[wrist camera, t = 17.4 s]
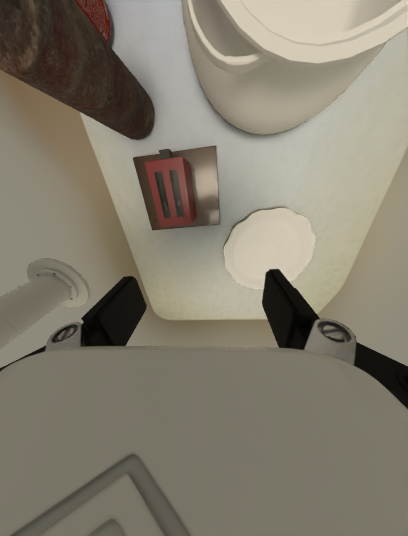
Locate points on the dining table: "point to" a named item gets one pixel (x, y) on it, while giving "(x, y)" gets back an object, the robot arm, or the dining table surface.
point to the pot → (284, 54)
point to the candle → (72, 63)
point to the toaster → (172, 189)
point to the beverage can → (97, 15)
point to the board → (202, 182)
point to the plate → (269, 246)
